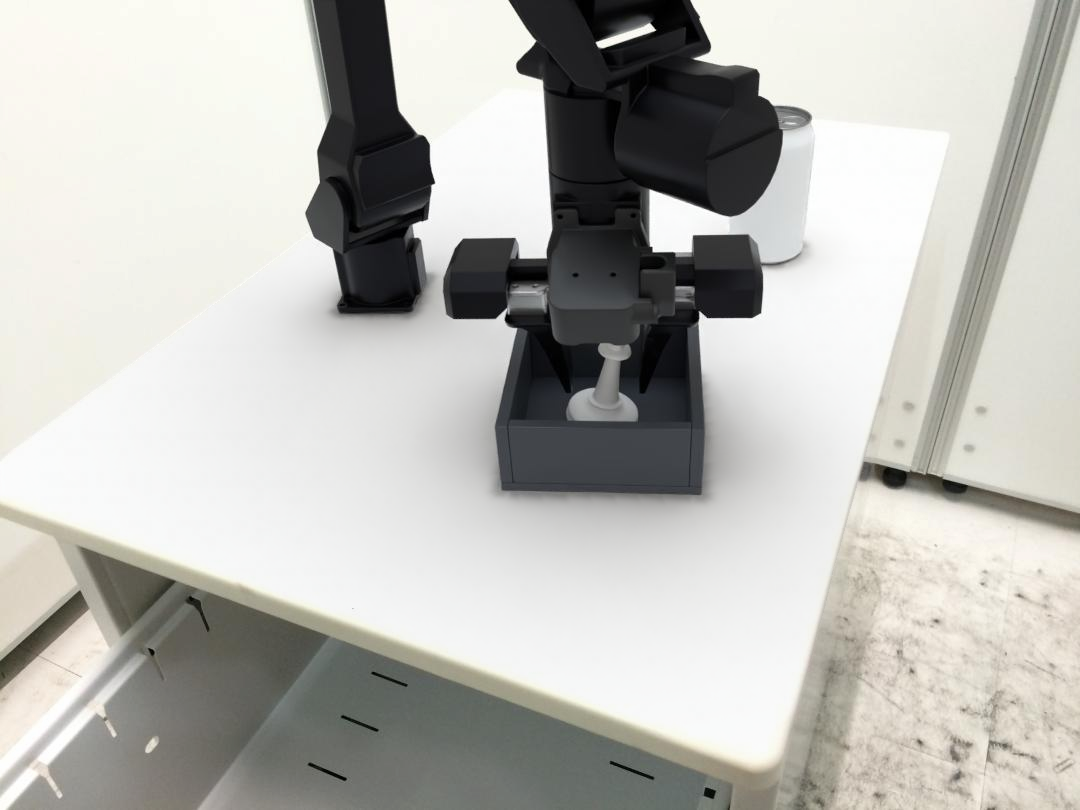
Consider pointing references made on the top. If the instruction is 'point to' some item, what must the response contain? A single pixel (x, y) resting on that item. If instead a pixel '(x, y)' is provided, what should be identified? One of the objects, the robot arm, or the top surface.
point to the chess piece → (605, 392)
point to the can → (783, 193)
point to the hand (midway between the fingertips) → (605, 390)
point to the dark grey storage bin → (603, 423)
